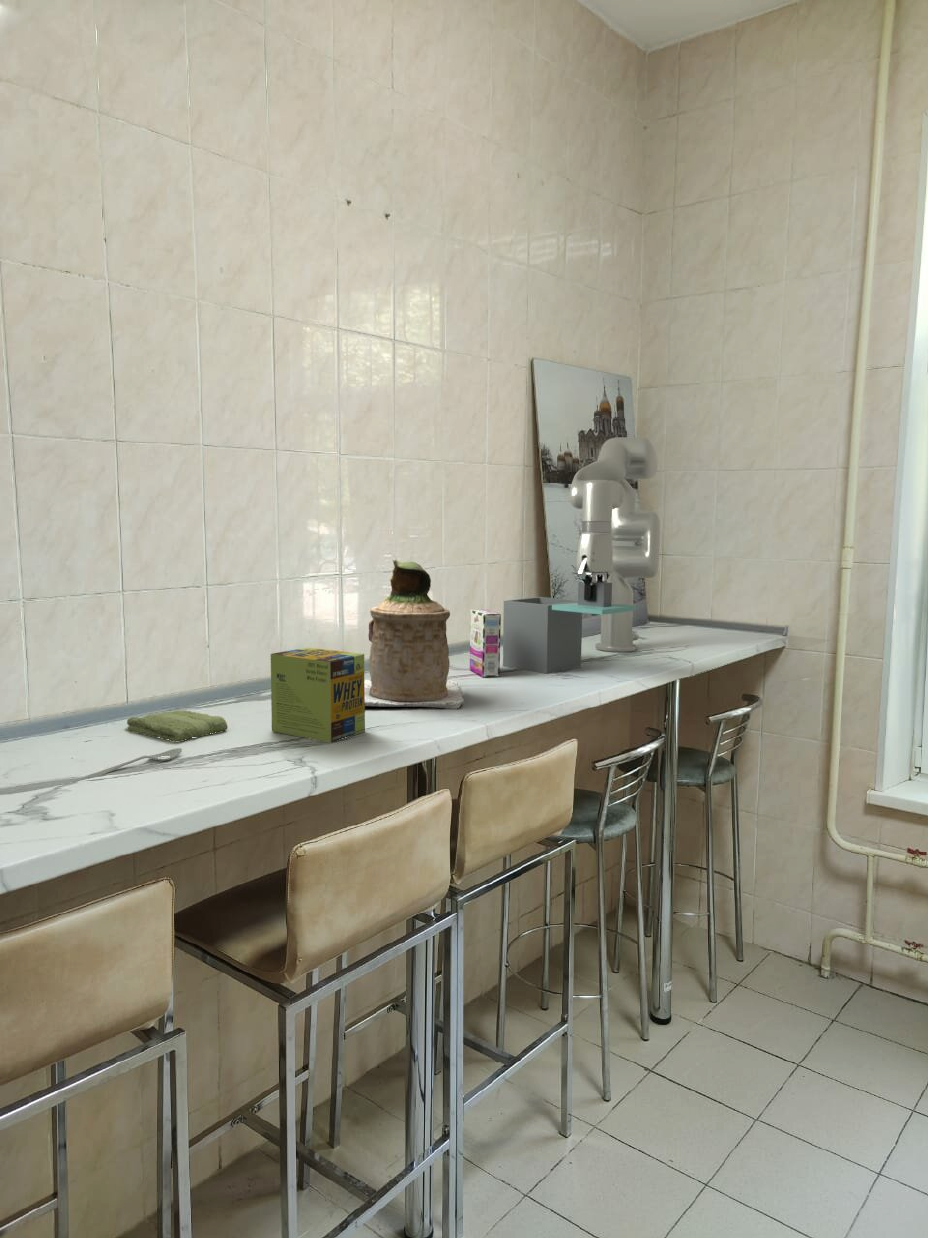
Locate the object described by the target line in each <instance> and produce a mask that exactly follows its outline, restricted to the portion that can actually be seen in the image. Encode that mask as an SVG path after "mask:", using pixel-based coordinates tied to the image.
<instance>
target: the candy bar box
mask: <svg viewBox="0 0 928 1238" xmlns="http://www.w3.org/2000/svg"><path fill="white" fill-rule="evenodd" d="M469 611H470V623H469V624H470V625H469V626H470V627H469V629H470V630H469V670H470V672H472V673H474V674H476V675H478V676H479V677H481V678H499V677H500V672H501V671H500V669H501V668H500V667H501V665H500V663H501V628H502V627H501V626H502V625H501V624H502V623H501V621H502V613H501V614H500V613H498V612H495V611H492V610H489V609H470V610H469Z"/></svg>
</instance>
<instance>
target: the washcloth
mask: <svg viewBox="0 0 928 1238" xmlns="http://www.w3.org/2000/svg"><path fill="white" fill-rule="evenodd" d="M126 724H127V731H129V730H130V731H129V732H132V731H134V732H133V733H137V732H138V733H137V734H140V733H142V735H144V734H145V736H148V735H150V736H149V737H152V736H153V738H157V737H160V738H163V739H162V740H164V739H169V740H171V741H170V742H172V741H180V742H182V741H181V740H184V741H186V740H185V739H188V740H190V739H189V738H192V737H198V738H199V737H203V736H202V735H204V736H207V735H206V734H210V733H211V735H213V734H216V733H215V732H220V731H224V732H226V731H227V730H228V728H229V726H228V723H227V721H226V720H225V717H223V716H221V715H210V714H208V713H201V712H196V711H190V710H187V709H185V710H184V709H179V710H173V711H172V710H170V711H161V712H155V713H149V714H147V715H144V716H142V717H141V716H140V717H138V716H132V717H129V718H128V719H127V721H126ZM225 730H226V731H225ZM212 733H213V734H212ZM220 733H221V732H220Z"/></svg>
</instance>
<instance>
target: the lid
mask: <svg viewBox="0 0 928 1238" xmlns="http://www.w3.org/2000/svg"><path fill="white" fill-rule="evenodd" d="M577 584H578V585H577V586H578V587H577V601H578V602H576V603H567V604H557V605H552V610H560V611H570V612H580V613H582V614H583V613H584V614H591V615H600V616H601V615H604V614H612V613H620V612H628V611H633V612H634V611H635V612H636V611H638V605H634V604H633V605H623V604H612V583H608V582H596V581H595V583H594V585H596V599H595V601H586V600H584V585H583V580H582V581H581V580H580V581H578V583H577Z"/></svg>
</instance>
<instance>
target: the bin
mask: <svg viewBox="0 0 928 1238" xmlns="http://www.w3.org/2000/svg"><path fill="white" fill-rule="evenodd" d="M576 602H578V600H576V599H575V600H574V599H566V598H565V599H564V598H555V597H545V596H535V597H534V596H533V597H525V598H518V599H517V598H516V599H509V600H503V614H502V615H503V618H502V619H503V620H502V622H503V623H502V631H503V632H502V633H503V634H502V667H504V668H505V667H506V668H510V669H511V668H512V669H518V670H523V671H530V672H534V673H540V674H552V673H557V672H560V671H566V670H570V669H574V668H578V667H582V639H583V638H582V636H583V635H582V634H583V613H580V612H570V611H560V610H552V605H557V604H567V603H576Z"/></svg>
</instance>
